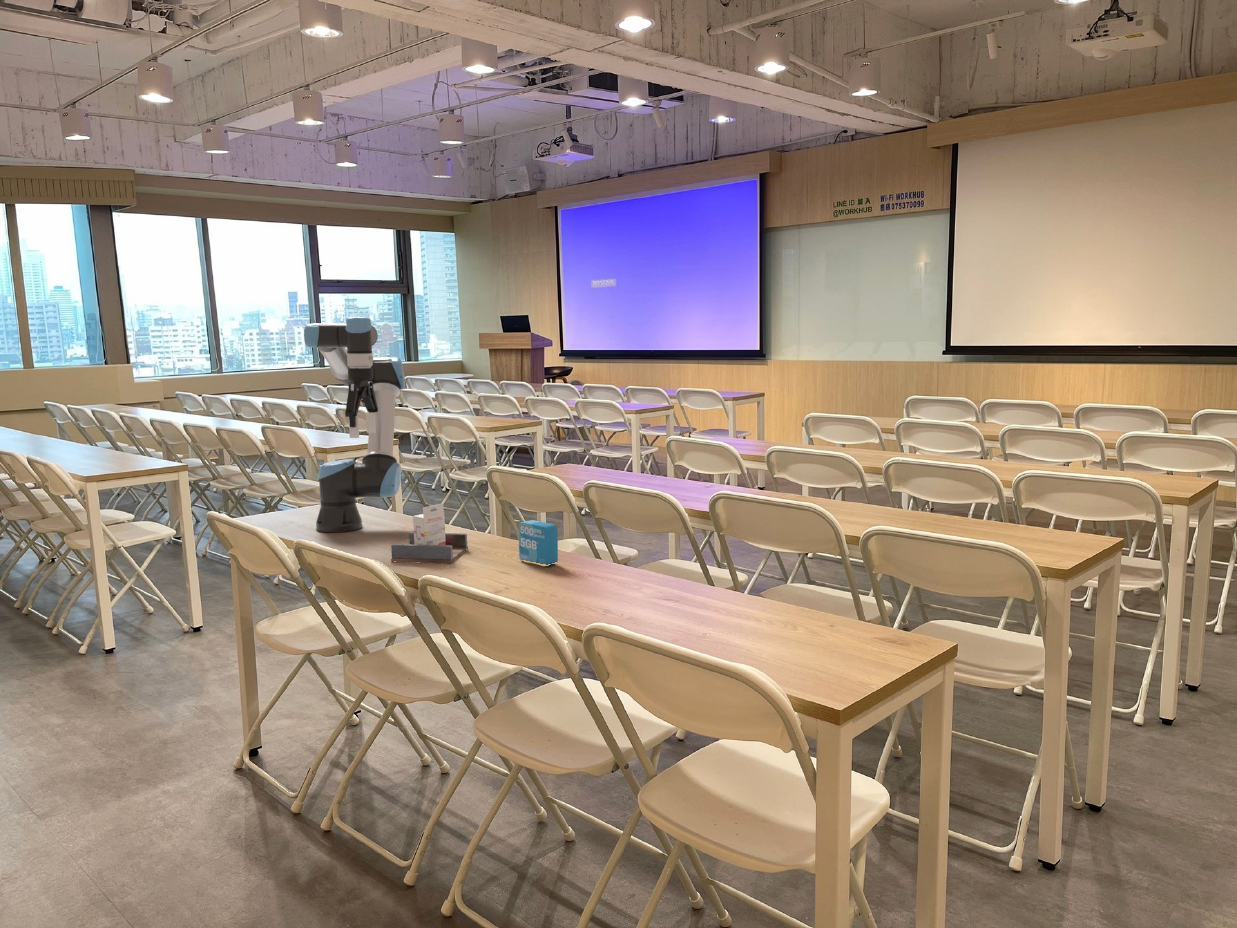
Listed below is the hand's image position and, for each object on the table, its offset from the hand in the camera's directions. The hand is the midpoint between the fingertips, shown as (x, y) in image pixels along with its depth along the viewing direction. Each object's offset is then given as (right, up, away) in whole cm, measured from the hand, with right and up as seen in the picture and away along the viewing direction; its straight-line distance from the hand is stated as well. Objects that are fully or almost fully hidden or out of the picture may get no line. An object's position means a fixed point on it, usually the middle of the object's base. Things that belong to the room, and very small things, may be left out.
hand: (363, 435), depth 281 cm
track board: (+23, -37, -10) cm, 45 cm away
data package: (+57, -38, -19) cm, 71 cm away
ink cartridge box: (+23, -36, -10) cm, 44 cm away
